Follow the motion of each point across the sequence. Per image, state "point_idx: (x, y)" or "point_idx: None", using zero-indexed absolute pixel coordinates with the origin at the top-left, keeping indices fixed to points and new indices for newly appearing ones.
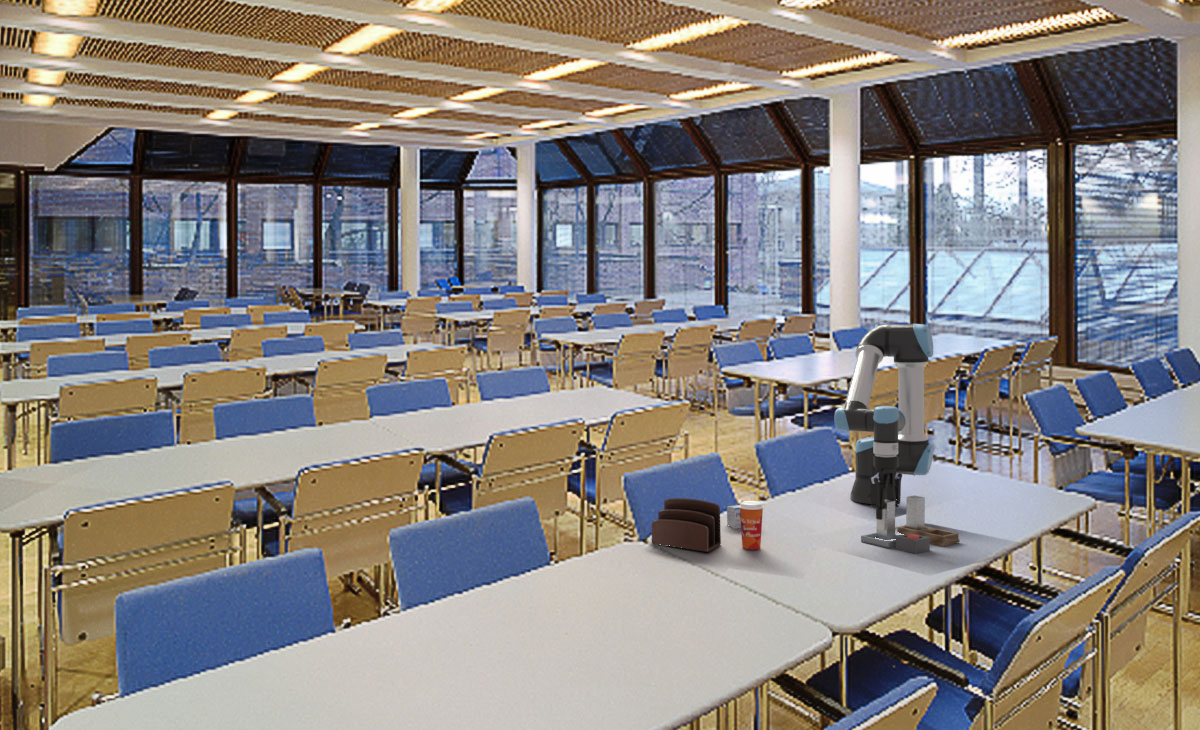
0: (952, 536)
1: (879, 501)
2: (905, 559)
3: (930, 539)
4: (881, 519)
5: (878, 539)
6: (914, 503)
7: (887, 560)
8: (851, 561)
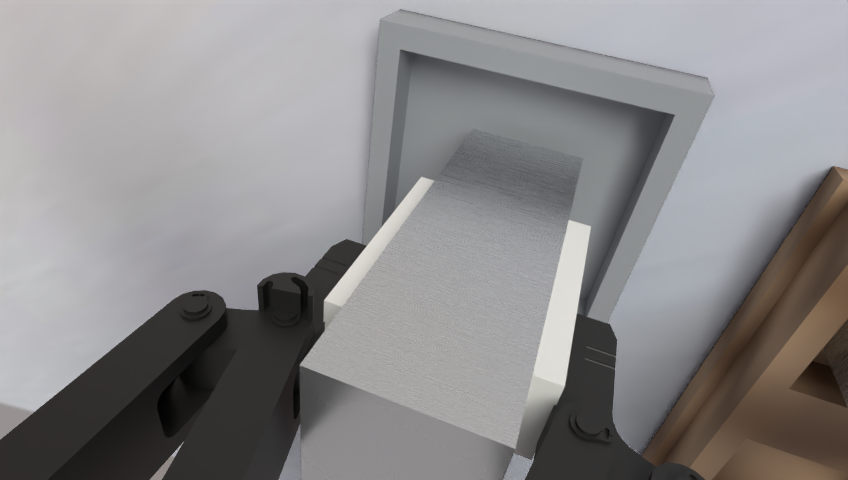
0: None
1: (176, 440)
2: None
3: (687, 431)
4: None
5: (379, 189)
6: None
7: None
8: (45, 182)
